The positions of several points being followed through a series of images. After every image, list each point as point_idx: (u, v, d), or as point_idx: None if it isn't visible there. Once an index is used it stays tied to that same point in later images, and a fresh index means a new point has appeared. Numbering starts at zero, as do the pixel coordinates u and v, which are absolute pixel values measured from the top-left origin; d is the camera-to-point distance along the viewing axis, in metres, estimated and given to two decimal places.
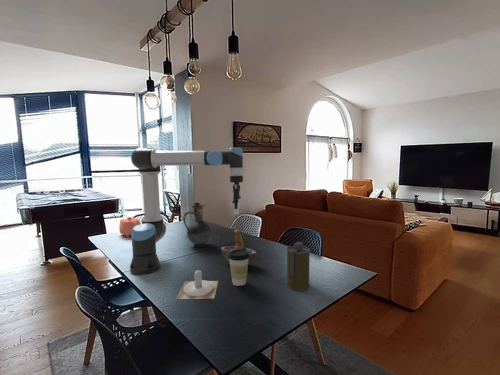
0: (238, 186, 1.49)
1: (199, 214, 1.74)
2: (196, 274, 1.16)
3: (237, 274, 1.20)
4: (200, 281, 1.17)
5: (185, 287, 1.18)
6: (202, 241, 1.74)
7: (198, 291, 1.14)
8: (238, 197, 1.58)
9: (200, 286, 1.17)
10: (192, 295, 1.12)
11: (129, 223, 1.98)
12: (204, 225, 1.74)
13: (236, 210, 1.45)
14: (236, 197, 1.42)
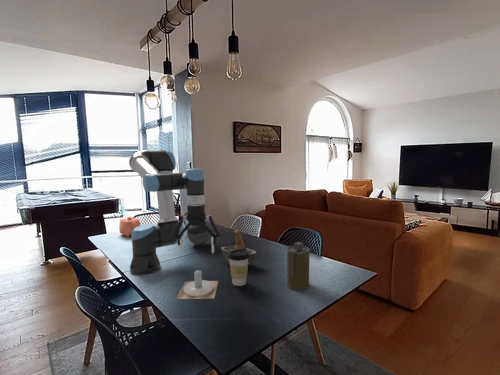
0: None
1: None
2: (196, 274, 1.16)
3: (237, 274, 1.20)
4: (200, 281, 1.17)
5: (185, 287, 1.17)
6: (202, 241, 1.74)
7: (198, 291, 1.14)
8: None
9: (200, 286, 1.17)
10: (192, 295, 1.12)
11: (129, 223, 1.98)
12: None
13: None
14: (175, 230, 1.15)
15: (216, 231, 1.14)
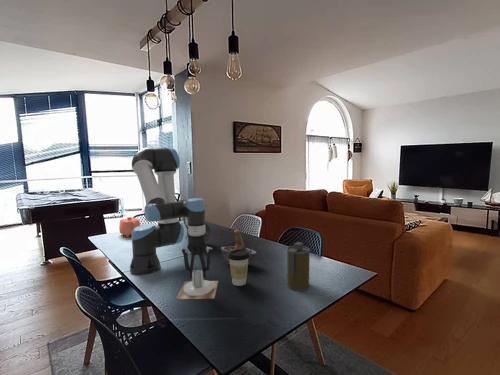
0: None
1: None
2: (196, 274, 1.16)
3: (237, 274, 1.20)
4: (200, 281, 1.17)
5: (185, 287, 1.18)
6: None
7: (198, 291, 1.14)
8: None
9: (200, 286, 1.17)
10: (192, 295, 1.12)
11: (129, 223, 1.98)
12: None
13: None
14: None
15: (208, 265, 1.16)
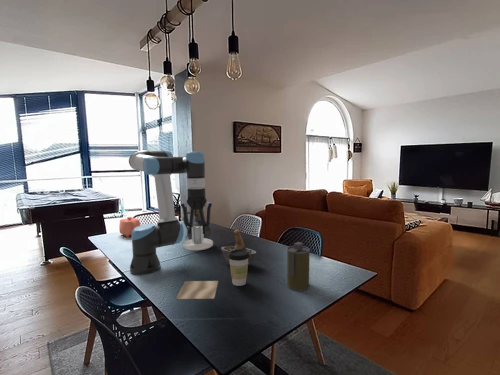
0: (191, 203, 1.13)
1: (199, 214, 1.74)
2: (196, 229, 1.14)
3: (237, 274, 1.20)
4: (200, 236, 1.15)
5: (184, 243, 1.15)
6: None
7: (198, 245, 1.12)
8: None
9: (200, 241, 1.15)
10: (191, 249, 1.10)
11: (129, 223, 1.98)
12: None
13: None
14: None
15: (208, 220, 1.14)
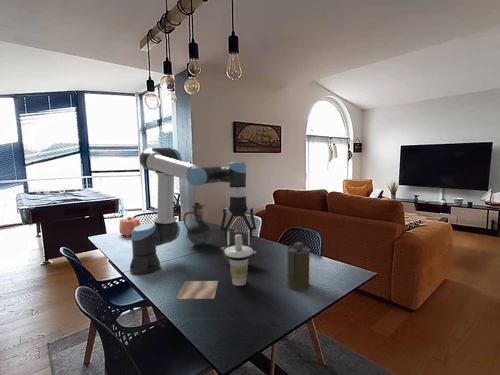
0: (233, 210, 1.19)
1: (199, 214, 1.74)
2: (237, 237, 1.20)
3: (237, 274, 1.20)
4: (241, 244, 1.21)
5: (226, 250, 1.22)
6: (202, 241, 1.74)
7: (240, 253, 1.18)
8: None
9: (240, 249, 1.21)
10: (235, 256, 1.16)
11: (129, 223, 1.98)
12: (204, 225, 1.74)
13: None
14: None
15: (253, 224, 1.20)
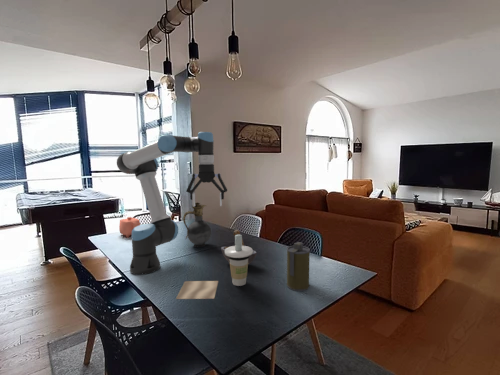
0: None
1: (199, 214, 1.74)
2: (237, 237, 1.20)
3: (237, 274, 1.20)
4: (241, 244, 1.21)
5: (226, 250, 1.22)
6: (202, 241, 1.74)
7: (240, 253, 1.18)
8: None
9: (240, 249, 1.21)
10: (235, 256, 1.16)
11: (129, 223, 1.98)
12: (204, 225, 1.74)
13: None
14: (188, 186, 1.32)
15: (224, 187, 1.31)
